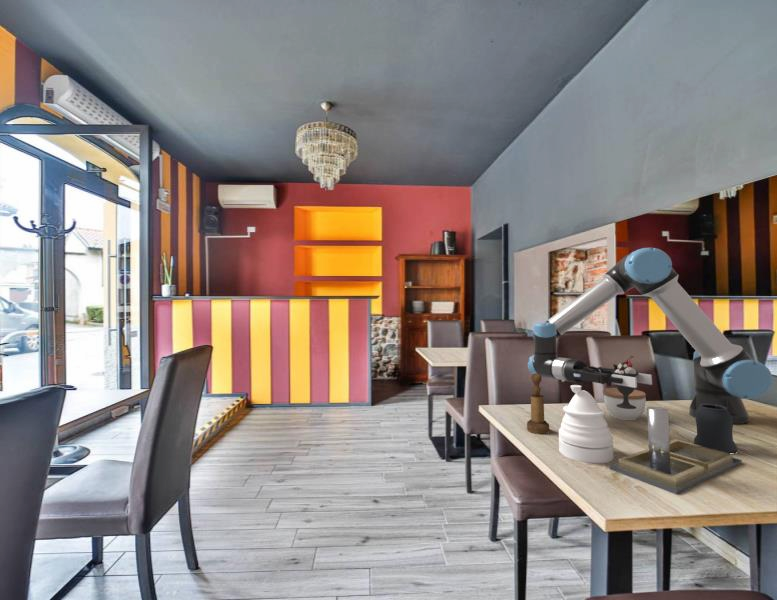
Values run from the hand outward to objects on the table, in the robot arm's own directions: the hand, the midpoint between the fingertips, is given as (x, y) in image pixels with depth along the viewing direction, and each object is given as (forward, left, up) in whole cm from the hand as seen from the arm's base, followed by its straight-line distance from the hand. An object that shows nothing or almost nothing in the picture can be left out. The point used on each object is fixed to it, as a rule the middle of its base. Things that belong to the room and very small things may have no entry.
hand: (643, 381), depth 103 cm
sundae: (0, -5, -9) cm, 10 cm away
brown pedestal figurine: (+15, -24, -18) cm, 34 cm away
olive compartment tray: (+8, +11, -18) cm, 22 cm away
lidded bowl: (-21, -18, -18) cm, 33 cm away
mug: (-15, +10, -18) cm, 26 cm away
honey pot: (+19, -5, -18) cm, 27 cm away
